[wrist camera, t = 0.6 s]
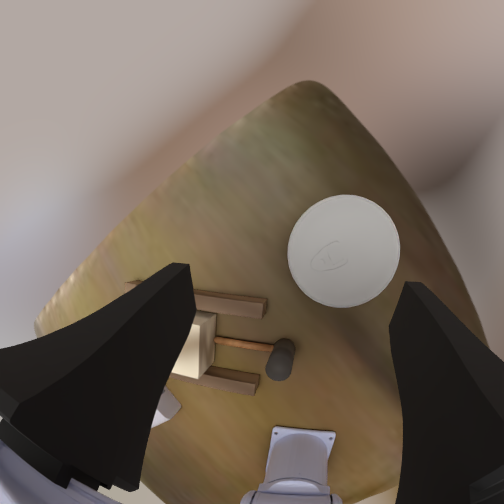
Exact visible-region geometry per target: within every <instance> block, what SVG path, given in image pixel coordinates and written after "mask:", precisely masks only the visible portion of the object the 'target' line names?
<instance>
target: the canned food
mask: <svg viewBox="0 0 504 504" xmlns="http://www.w3.org/2000/svg"><path fill="white" fill-rule="evenodd" d="M287 257H288V263H289V268H290V271H291V274H292V276H293V278H294V280H295V282H296V283H297V285H298V286H299V288H300V289H301V290H302V291H303V292H304V293H305V294H306V295H307V296H309V297H310V298H312V299H313V300H314V301H316V302H319V303H321V304H323V305H326V306H331V307H336V308H348V307H353V306H358V305H360V304H363V303H365V302H368V301H370V300H371V299H373V298H374V297H376V296H377V295H378V294H380V293H381V292H382V291H383V290H384V289H385V288H386V286H387V285H388V284H389V282H390V281H391V280H392V278H393V276H394V274H395V271H396V269H397V266H398V262H399V258H400V242H399V236H398V233H397V230H396V227H395V225H394V223H393V221H392V220H391V218H390V216H389V215H388V214H387V213H386V212H385V211H384V210H383V209H382V208H381V207H380V206H378V205H377V204H376V203H374V202H372V201H370V200H368V199H366V198H363V197H359V196H355V195H338V196H333V197H329V198H326V199H324V200H321V201H319V202H318V203H316V204H315V205H313V206H311V207H310V208H309V209H308V210H307V211H306V212H305V213H304V214H303V215H302V216H301V217H300V218H299V220H298V221H297V223H296V224H295V226H294V228H293V230H292V232H291V235H290V239H289V243H288V255H287Z"/></svg>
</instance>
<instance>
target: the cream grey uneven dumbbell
mask: <svg viewBox="0 0 504 504" xmlns="http://www.w3.org/2000/svg"><path fill="white" fill-rule="evenodd" d="M215 332H216V314H215V313H209V312H202V311H196V314H195V318H194V321H193V324H192V327H191V330H190V333H189V336H188V338H187V340H186V342H185V344H184V346H183V349H182V351H181V353H180V355H179V357H178V359H177V361H176V363H175V365H174V368H173V370H172V373H176V374H180V375H184V376H188V377H192V378H196V379H199V378H200V377H201V376H202V375H203V373H204V372H205V371H206V370H207V369H208V368H209V367H210V366H211V364H212V363H213V362H214V353H215V343H217V344H223V345H228V346H234V347H240V348H247V349H253V350H260V351H267V352H271V355H270V357H269V360H268V362H267V365H266V368H265V370H266V374H267V375H268V377H269V378H271V379H272V380H275V381H283V380H285V379H287V378H288V377H289V376H290V374H291V370H292V365H293V360H294V355H295V345H294V343H293V342H292V341H290V340H288V339H280V340H278V341H277V342H276V343H275V345H274V346H273V345H268V344H261V343H254V342H247V341H241V340H235V339H229V338H223V337H215Z"/></svg>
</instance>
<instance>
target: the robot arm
mask: <svg viewBox="0 0 504 504" xmlns="http://www.w3.org/2000/svg"><path fill="white" fill-rule="evenodd" d="M196 311H197V308H196V302H195V296H194V291H193V285H192V278H191V272H190V266H189V264H183V263H171V264H169V265H168V266H166V267H164V268H163V269H161V270H160V271H158V272H157V273H155V274H154V275H152V276H151V277H149V278H148V279H146V280H145V281H143V282H142V283H140V284H139V285H137V286H136V287H134V288H133V289H131V290H130V291H128V292H127V293H125V294H124V295H122V296H120V297H119V298H117V299H116V300H114V301H112V302H111V303H109V304H108V305H106V306H104V307H103V308H101V309H99V310H98V311H96V312H94V313H92V314H91V315H89V316H87V317H85V318H83V319H81V320H79V321H77V322H75V323H73V324H71V325H69V326H67V327H64V328H62V329H60V330H57V331H55V332H53V333H50V334H48V335H45V336H43V337H40V338H37V339H35V340H32V341H28V342H25V343H22V344H19V345H15V346H11V347H7V348H3V349H0V416H1V417H2V418H3V419H2V420H1V422H0V504H122V503H120V502H117V501H115V500H113V499H111V498H109V497H107V496H105V495H103V494H101V493H99V492H97V490H98V488H99V486H102V487H104V488H106V489H108V490H109V489H111V487H112V485H114V486H117V487H119V488H121V489H123V490H126V491H128V492H132V491H135V490H137V489H139V483H140V476H141V470H142V465H143V459H144V455H145V450H146V446H147V441H148V437H149V434H150V430H151V426H152V423H153V419H154V416H155V413H156V410H157V406H158V403H159V400H160V397H161V394H162V392H163V389H164V387H165V384H166V382H167V380H168V378H169V376H170V374H171V372H172V370H173V368H174V365H175V363H176V361H177V359H178V357H179V355H180V353H181V351H182V349H183V346H184V344H185V342H186V340H187V338H188V336H189V333H190V330H191V327H192V324H193V321H194V318H195V314H196ZM389 334H390V345H391V353H392V358H393V363H394V368H395V373H396V378H397V383H398V389H399V394H400V400H401V406H402V416H403V452H402V466H401V474H400V482H399V488H398V493H397V498H396V503H395V504H504V362H503V361H502V360H501V359H500V358H499V357H498V356H497V355H495V354H494V353H493V352H492V351H491V350H490V349H489V348H487V347H486V346H485V345H484V344H483V343H482V342H481V341H480V340H479V339H478V338H477V337H476V336H475V335H474V334H473V333H472V332H471V331H470V330H469V329H468V328H467V327H466V326H465V325H464V324H463V323H462V322H461V321H460V320H459V319H458V318H457V317H456V316H455V315H454V314H453V313H452V312H451V311H450V310H449V309H448V308H447V306H446V305H445V304H444V303H443V302H442V301H441V300H440V299H439V298H438V297H437V296H436V295H435V294H434V293H433V292H431V291H430V290H429V289H428V288H427V287H426V286H425V285H424V284H422V283H421V282H407V281H405V284H404V287H403V290H402V293H401V295H400V298H399V301H398V304H397V306H396V309H395V312H394V314H393V317H392V319H391V322H390V324H389ZM275 432H278V433H275ZM335 436H336V433H335V432H332V431H317V430H306V429H296V428H287V427H279V426H275V427H274V428H273V431H272V437H271V443H270V449H269V455H268V460H267V466H266V475H265V479H264V482H263V484H259V488H258V491H254V490H251V491H249V492H248V493H246V494H245V495H244V496H243V498H242V500H241V502H240V504H342V499H341V498H340V497H339V496H338V495H337V494H331V495H330V486H327V461H328V458H329V455H330V452H331V449H332V446H333V443H334V440H335ZM330 437H332V438H330Z"/></svg>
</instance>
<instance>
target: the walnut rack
mask: <svg viewBox="0 0 504 504" xmlns="http://www.w3.org/2000/svg"><path fill="white" fill-rule="evenodd" d="M142 282H143V281H138V280H135V281H130V282H125V293H127V292H128V291H130V290H131V289H133V288H134V287H136V286H137V285H139V284H140V283H142ZM193 291H194V296H195V302H196V308H197V310H203V311H210V312H216V313H222V314H229V315H236V316H243V317H250V318H258V319H262V318H263V316H264V315H265V313H266V305H267V299H264V298H255V297H247V296H239V295H231V294H224V293H216V292H209V291H202V290H195V289H193ZM169 377H170V378H174V379H178V380H182V381H185V382H189V383H193V384H197V385H202V386H206V387H210V388H215V389H219V390H224V391H229V392H234V393H239V394H245V395H251V396H254V395H255V393H256V390H257V388H258V384H259V374H252V373H246V372H241V371H235V370H229V369H224V368H219V367H214V366H210V367H209V368H208V369H207V370H206V371H205V372H204V373H203V375H202V376H201V377H200V378H199V379H196V378H192V377H188V376H184V375H180V374H176V373H172V372H171V374H170V376H169Z"/></svg>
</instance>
